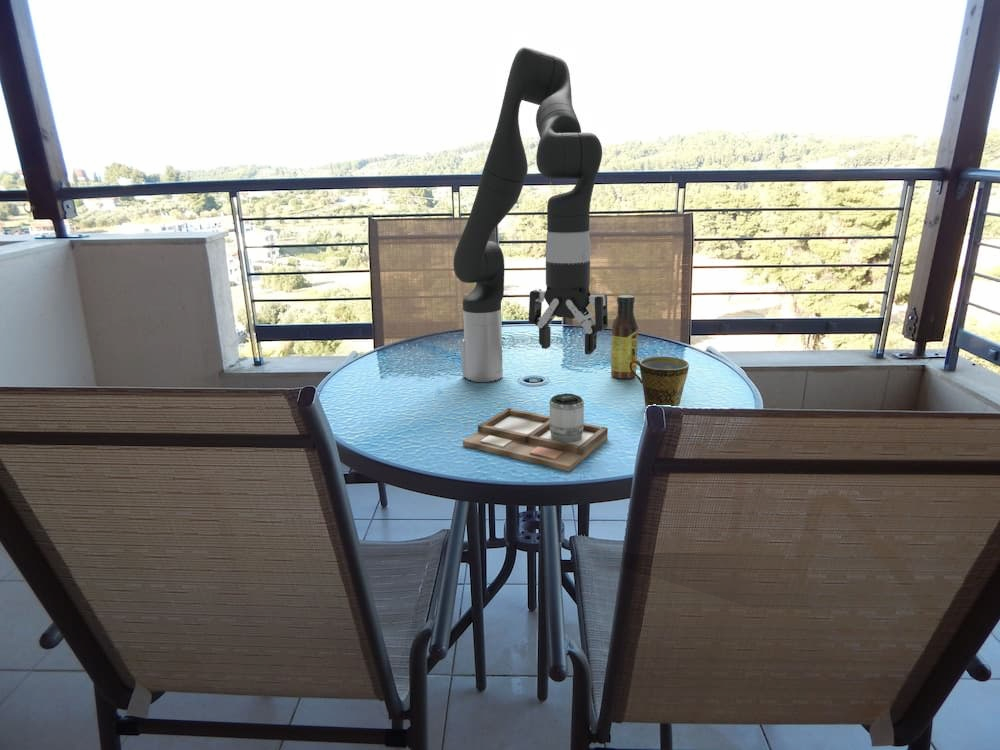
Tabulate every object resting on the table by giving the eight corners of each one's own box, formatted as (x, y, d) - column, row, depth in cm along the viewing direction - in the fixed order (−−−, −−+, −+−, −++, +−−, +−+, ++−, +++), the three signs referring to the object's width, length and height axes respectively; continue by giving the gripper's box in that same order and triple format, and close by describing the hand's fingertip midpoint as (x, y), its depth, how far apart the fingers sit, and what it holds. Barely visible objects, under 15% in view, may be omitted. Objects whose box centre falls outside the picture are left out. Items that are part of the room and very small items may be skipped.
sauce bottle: (636, 380, 151) (639, 299, 145) (610, 379, 152) (612, 298, 146) (636, 372, 157) (639, 294, 151) (611, 371, 158) (613, 293, 152)
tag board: (463, 445, 116) (462, 434, 116) (508, 418, 129) (507, 408, 128) (569, 471, 105) (569, 459, 104) (607, 438, 118) (607, 427, 117)
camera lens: (589, 439, 114) (590, 399, 112) (558, 445, 112) (559, 404, 110) (573, 428, 120) (573, 389, 118) (543, 433, 118) (543, 394, 115)
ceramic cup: (694, 406, 133) (697, 361, 130) (672, 420, 126) (675, 372, 123) (640, 394, 141) (641, 351, 138) (616, 406, 134) (617, 361, 131)
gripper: (615, 257, 105) (612, 350, 110) (541, 254, 113) (542, 341, 118) (597, 263, 99) (595, 361, 104) (520, 259, 107) (521, 350, 112)
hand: (566, 350), depth 111 cm, fingers open, 8 cm apart
